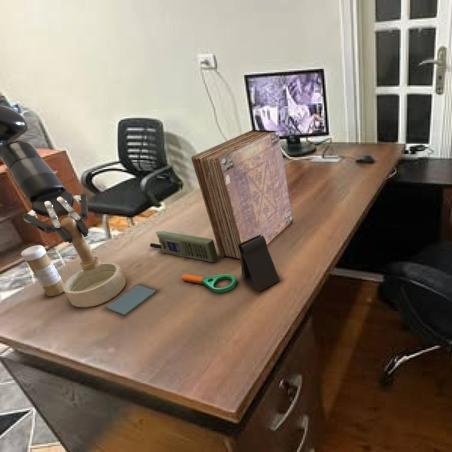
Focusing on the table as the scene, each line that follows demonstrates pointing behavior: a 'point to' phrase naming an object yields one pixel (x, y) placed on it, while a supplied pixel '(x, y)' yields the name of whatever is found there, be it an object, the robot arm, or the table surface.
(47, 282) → the sprinkles bottle
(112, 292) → the bowl
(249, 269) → the phone stand
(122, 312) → the rest mat
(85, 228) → the robot arm
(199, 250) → the handheld radio
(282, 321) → the table surface
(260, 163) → the book
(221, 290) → the magnifying glass
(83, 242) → the wooden pestle
